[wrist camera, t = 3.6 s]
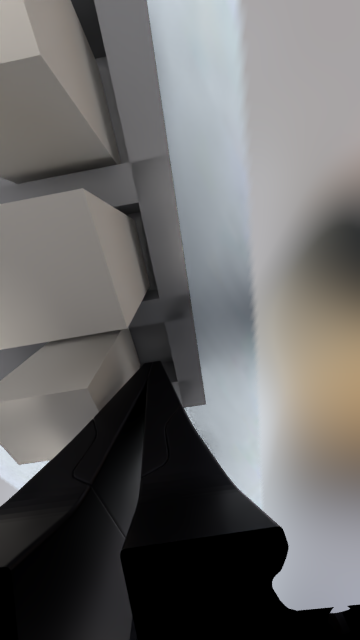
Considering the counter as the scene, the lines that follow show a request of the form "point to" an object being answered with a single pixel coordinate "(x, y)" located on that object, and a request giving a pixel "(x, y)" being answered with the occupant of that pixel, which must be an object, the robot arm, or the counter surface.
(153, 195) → the switch bank
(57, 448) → the tab
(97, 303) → the beige rectangular block
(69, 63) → the cream rectangular block
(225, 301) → the counter surface
